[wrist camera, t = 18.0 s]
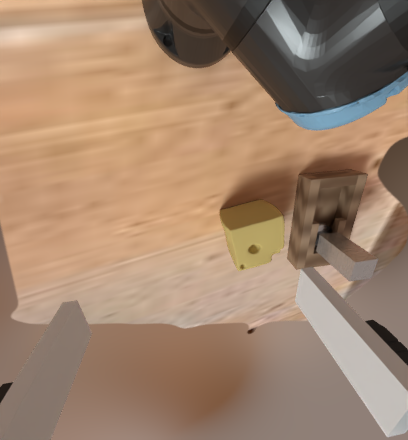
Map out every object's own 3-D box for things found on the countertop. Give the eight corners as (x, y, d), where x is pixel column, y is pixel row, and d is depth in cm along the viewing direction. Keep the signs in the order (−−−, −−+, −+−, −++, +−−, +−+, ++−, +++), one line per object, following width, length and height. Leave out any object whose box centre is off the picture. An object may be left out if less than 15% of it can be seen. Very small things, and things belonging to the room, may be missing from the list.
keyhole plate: (298, 174, 44) (311, 179, 40) (350, 169, 45) (367, 174, 41) (287, 258, 53) (296, 269, 49) (330, 252, 55) (342, 262, 50)
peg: (306, 223, 48) (352, 259, 36) (330, 220, 49) (383, 254, 36) (302, 245, 51) (344, 285, 38) (325, 242, 51) (373, 280, 39)
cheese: (267, 235, 50) (288, 260, 41) (224, 246, 49) (235, 274, 41) (263, 195, 45) (285, 213, 36) (216, 208, 45) (226, 229, 36)
